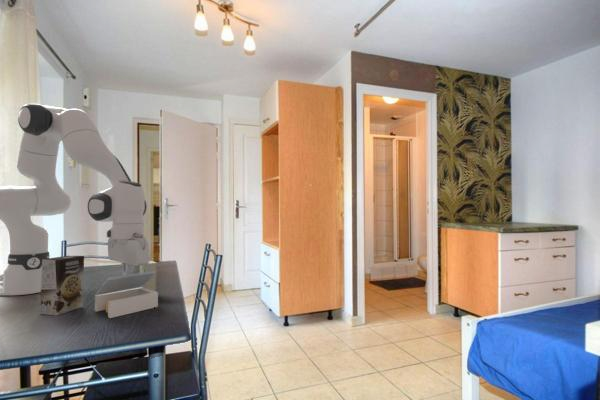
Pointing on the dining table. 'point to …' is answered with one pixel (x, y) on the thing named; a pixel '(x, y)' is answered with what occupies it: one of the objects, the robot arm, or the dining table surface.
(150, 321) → the dining table surface
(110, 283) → the lid
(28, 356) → the dining table surface
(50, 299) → the coffee box
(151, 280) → the skincare box
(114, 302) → the open tray
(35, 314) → the dining table surface
